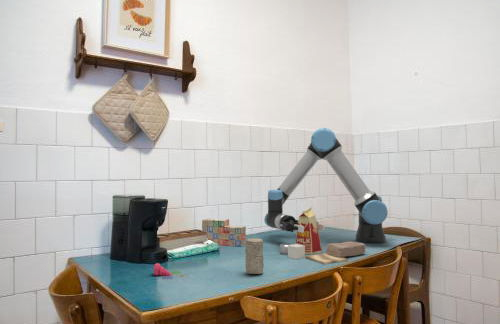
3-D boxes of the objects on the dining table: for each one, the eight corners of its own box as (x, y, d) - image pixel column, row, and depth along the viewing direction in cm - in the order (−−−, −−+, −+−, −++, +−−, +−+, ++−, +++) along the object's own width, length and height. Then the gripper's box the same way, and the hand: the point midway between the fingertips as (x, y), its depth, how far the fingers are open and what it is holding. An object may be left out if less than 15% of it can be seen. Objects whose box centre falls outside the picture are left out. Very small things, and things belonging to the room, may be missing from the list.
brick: (340, 257, 153) (340, 245, 153) (324, 253, 159) (325, 242, 160) (365, 254, 162) (366, 243, 162) (350, 251, 169) (350, 240, 169)
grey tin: (287, 252, 168) (287, 243, 168) (293, 254, 163) (293, 245, 164) (277, 253, 166) (277, 244, 166) (284, 255, 161) (284, 246, 161)
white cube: (296, 255, 161) (296, 244, 161) (304, 257, 157) (304, 245, 157) (287, 257, 158) (287, 245, 158) (296, 259, 154) (296, 247, 154)
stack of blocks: (246, 244, 186) (245, 219, 186) (241, 247, 180) (240, 221, 181) (207, 242, 194) (207, 218, 194) (201, 244, 188) (201, 219, 189)
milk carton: (305, 249, 174) (305, 206, 175) (322, 252, 168) (322, 207, 168) (293, 252, 168) (293, 207, 168) (310, 255, 161) (309, 208, 162)
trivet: (328, 255, 162) (328, 253, 162) (347, 260, 151) (347, 258, 151) (305, 258, 156) (305, 256, 156) (324, 264, 145) (323, 262, 145)
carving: (265, 271, 135) (265, 237, 136) (261, 277, 128) (261, 241, 128) (248, 270, 137) (248, 237, 137) (243, 275, 129) (243, 240, 130)
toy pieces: (152, 282, 123) (152, 268, 124) (153, 273, 134) (153, 261, 134) (189, 279, 126) (189, 266, 126) (187, 271, 137) (187, 259, 137)
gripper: (304, 228, 189) (334, 235, 170) (265, 232, 178) (291, 239, 159) (304, 213, 189) (334, 218, 170) (265, 216, 179) (291, 221, 159)
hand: (313, 228), depth 164 cm, fingers open, 10 cm apart
